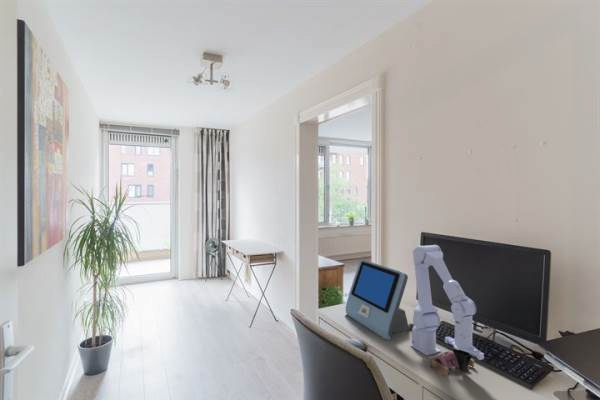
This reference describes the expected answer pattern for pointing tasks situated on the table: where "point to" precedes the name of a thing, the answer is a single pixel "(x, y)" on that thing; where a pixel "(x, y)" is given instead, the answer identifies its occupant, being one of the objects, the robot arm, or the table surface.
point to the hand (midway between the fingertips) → (463, 370)
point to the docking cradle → (442, 369)
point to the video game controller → (448, 356)
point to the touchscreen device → (378, 299)
